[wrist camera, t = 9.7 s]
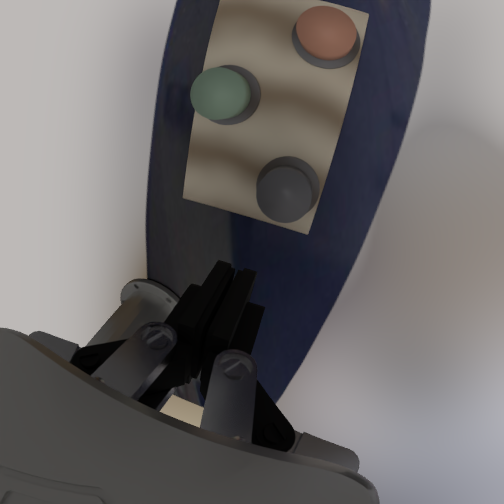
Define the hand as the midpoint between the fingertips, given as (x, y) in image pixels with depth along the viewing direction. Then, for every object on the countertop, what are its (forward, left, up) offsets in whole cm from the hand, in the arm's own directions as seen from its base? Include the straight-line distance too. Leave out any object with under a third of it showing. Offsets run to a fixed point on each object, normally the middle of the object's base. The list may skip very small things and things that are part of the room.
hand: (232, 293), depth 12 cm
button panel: (+5, +7, -18) cm, 20 cm away
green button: (+3, +10, -14) cm, 17 cm away
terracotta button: (+13, +7, -14) cm, 20 cm away
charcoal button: (+1, 0, -14) cm, 14 cm away
